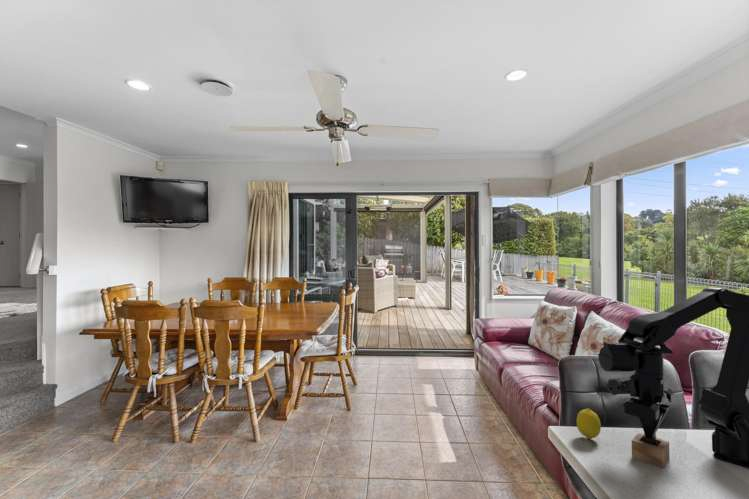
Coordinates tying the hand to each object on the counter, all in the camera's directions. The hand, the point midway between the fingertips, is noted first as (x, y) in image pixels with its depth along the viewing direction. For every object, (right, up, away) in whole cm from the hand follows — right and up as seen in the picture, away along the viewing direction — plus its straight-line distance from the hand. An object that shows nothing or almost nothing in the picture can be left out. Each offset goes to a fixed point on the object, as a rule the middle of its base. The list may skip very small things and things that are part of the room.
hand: (650, 436), depth 86 cm
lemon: (-10, -6, +9) cm, 14 cm away
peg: (0, -3, 0) cm, 2 cm away
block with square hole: (0, -5, 0) cm, 5 cm away
